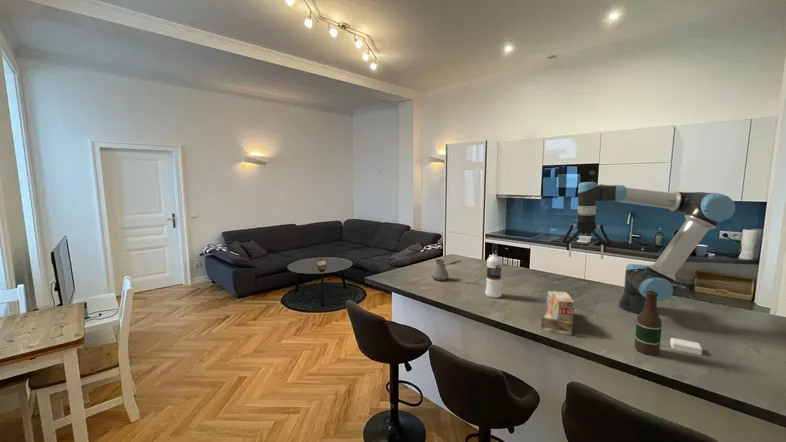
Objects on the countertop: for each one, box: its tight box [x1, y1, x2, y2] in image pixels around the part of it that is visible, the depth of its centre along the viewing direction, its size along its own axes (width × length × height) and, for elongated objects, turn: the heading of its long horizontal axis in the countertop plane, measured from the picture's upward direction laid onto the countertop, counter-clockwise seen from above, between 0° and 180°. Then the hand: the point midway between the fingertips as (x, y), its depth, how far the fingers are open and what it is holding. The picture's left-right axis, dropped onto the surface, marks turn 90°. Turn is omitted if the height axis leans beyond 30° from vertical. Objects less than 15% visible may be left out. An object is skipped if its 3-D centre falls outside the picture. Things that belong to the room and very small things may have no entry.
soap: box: [669, 337, 703, 356], centre depth 133 cm, size 9×6×3 cm, turn 57°
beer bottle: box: [634, 291, 663, 356], centre depth 130 cm, size 8×8×24 cm
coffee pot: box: [430, 258, 463, 282], centre depth 222 cm, size 21×12×15 cm, turn 52°
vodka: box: [484, 243, 503, 299], centre depth 192 cm, size 9×9×30 cm
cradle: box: [540, 308, 573, 337], centre depth 158 cm, size 12×26×6 cm, turn 150°
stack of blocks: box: [546, 290, 575, 327], centre depth 158 cm, size 21×6×12 cm, turn 168°
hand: (585, 257), depth 164 cm, fingers open, 13 cm apart
